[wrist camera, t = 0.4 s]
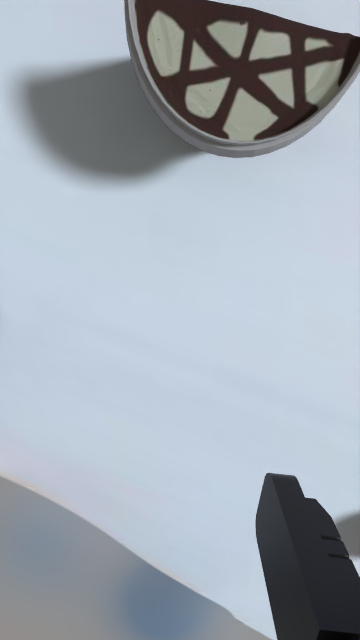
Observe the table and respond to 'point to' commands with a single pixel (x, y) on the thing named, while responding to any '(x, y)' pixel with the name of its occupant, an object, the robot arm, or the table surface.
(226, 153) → the food container
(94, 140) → the table surface
